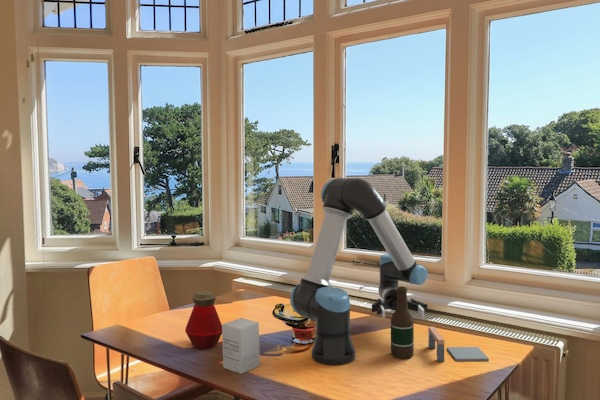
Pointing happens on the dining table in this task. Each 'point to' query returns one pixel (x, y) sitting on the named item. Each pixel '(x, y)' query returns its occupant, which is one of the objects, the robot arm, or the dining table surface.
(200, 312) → the red faceted jar
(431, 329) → the hurdle bar
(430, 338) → the hurdle posts
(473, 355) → the grey mat
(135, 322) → the dining table surface
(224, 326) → the supplement box
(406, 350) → the beer bottle
